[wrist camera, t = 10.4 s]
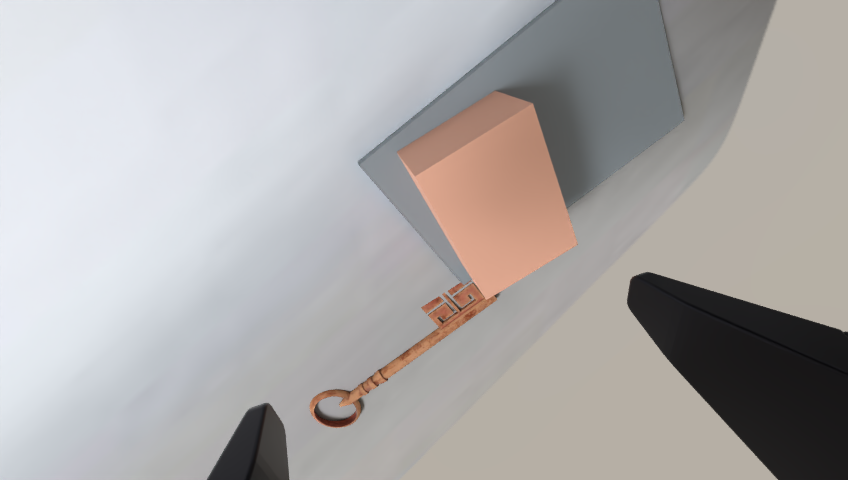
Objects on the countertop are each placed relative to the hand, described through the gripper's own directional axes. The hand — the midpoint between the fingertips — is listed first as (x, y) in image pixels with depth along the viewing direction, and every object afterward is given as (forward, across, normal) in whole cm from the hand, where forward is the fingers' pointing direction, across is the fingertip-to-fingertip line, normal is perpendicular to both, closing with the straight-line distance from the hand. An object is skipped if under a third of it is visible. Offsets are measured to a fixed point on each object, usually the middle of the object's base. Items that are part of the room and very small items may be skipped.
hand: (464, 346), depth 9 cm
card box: (+11, -5, +2) cm, 13 cm away
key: (+12, +2, +12) cm, 18 cm away
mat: (+12, -8, 0) cm, 15 cm away
